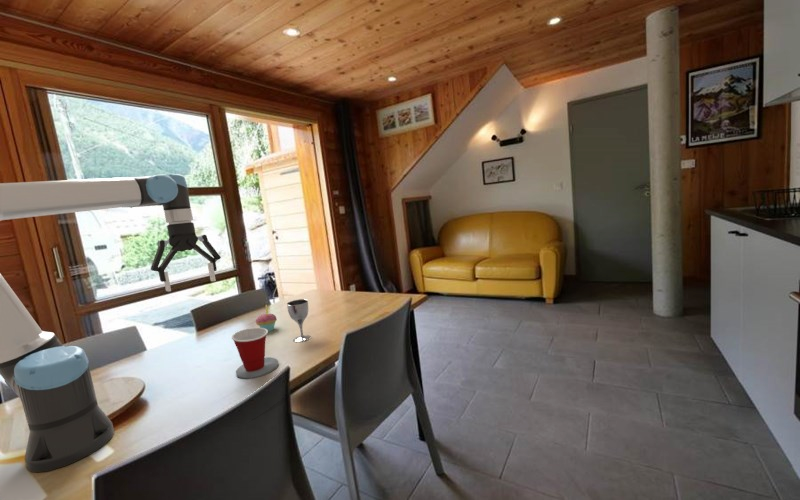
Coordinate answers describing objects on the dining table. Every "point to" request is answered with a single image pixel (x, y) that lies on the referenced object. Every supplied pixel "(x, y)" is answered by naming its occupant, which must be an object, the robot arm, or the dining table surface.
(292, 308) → the wine glass
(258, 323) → the cupcake
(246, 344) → the plastic cup
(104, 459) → the dining table surface
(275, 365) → the coaster
